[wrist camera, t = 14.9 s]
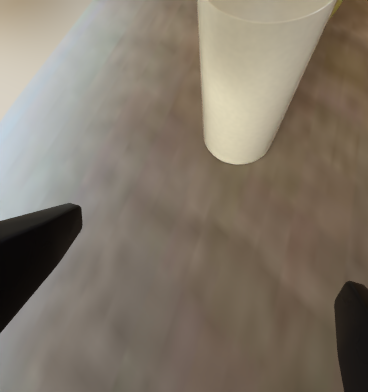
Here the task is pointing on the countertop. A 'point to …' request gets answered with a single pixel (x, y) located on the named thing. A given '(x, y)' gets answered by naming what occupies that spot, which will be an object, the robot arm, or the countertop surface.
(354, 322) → the robot arm
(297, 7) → the tall white cylinder
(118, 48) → the countertop surface
